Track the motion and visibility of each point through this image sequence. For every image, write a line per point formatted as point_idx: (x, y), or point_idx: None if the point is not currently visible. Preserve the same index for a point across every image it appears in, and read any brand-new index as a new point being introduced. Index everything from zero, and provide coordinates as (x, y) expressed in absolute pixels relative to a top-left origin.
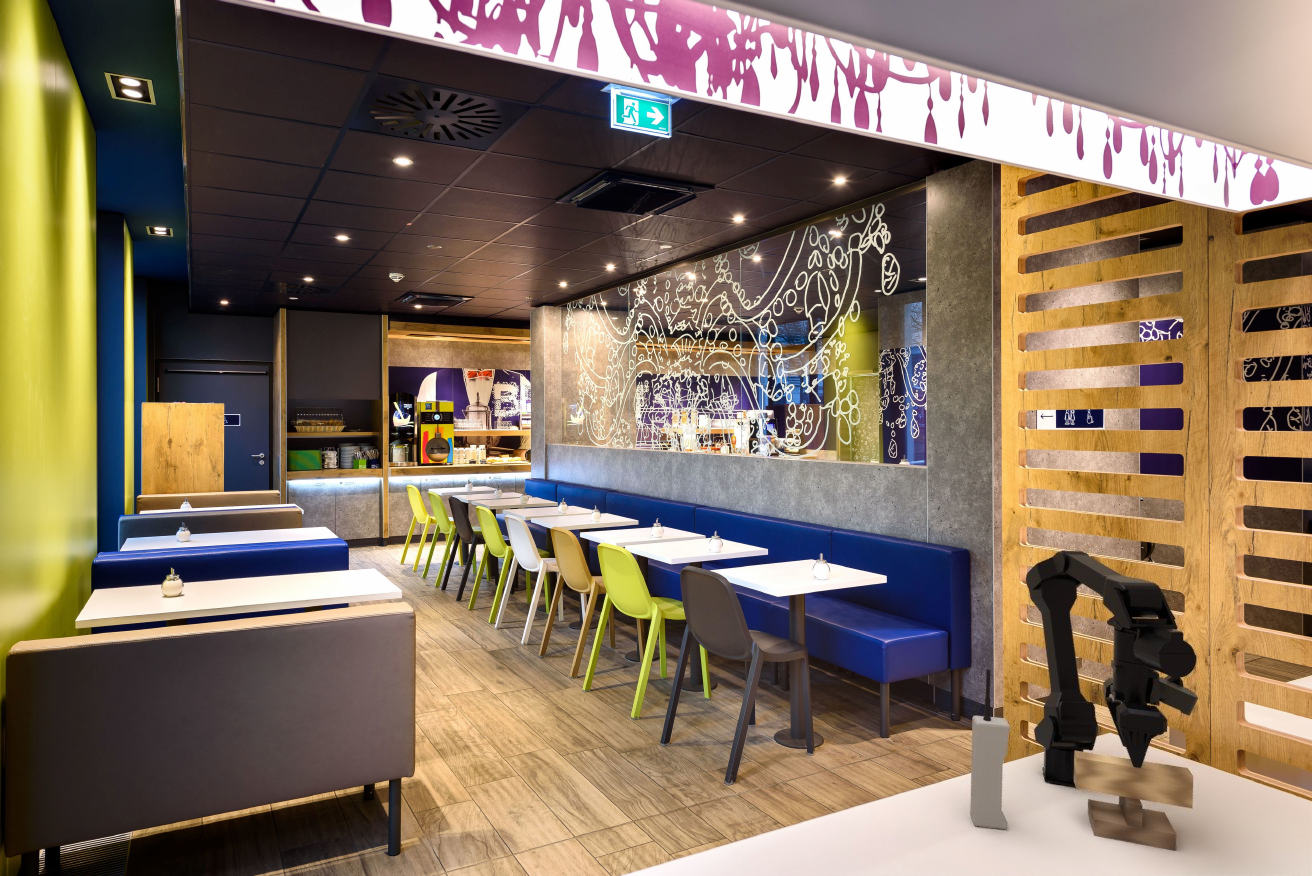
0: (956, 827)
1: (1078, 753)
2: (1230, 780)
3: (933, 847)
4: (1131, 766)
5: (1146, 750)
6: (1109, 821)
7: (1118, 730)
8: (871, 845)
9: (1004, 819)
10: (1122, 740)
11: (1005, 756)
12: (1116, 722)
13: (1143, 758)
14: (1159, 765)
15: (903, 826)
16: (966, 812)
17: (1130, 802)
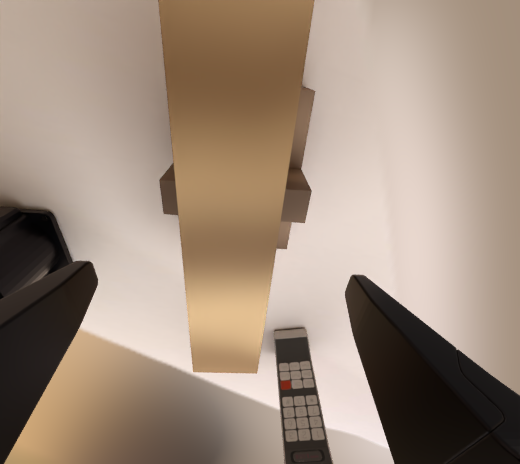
0: (312, 363)
1: (215, 368)
2: None
3: (366, 377)
4: (271, 267)
5: (455, 348)
6: (287, 226)
7: (55, 364)
8: (370, 407)
9: (308, 342)
10: (85, 308)
11: (332, 460)
12: (19, 419)
13: (403, 309)
14: (204, 153)
15: (324, 393)
16: (265, 356)
17: (298, 216)
